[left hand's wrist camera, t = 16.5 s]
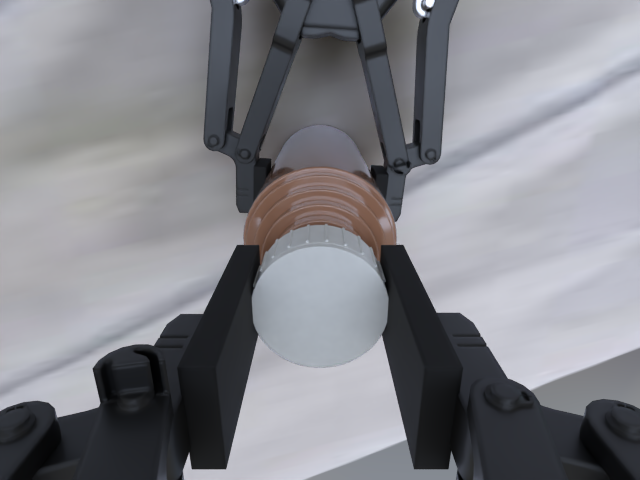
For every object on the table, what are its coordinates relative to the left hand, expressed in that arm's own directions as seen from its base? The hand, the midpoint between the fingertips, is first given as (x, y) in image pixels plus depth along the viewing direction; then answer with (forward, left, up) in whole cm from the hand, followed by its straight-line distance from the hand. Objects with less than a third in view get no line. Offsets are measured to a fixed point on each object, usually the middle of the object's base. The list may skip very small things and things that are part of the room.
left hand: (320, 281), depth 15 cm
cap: (0, 0, +2) cm, 2 cm away
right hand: (+4, -3, -13) cm, 14 cm away
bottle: (0, 0, -19) cm, 19 cm away
